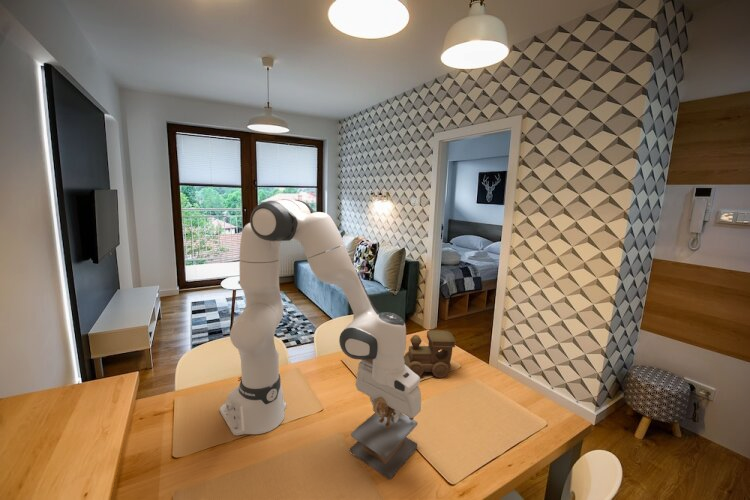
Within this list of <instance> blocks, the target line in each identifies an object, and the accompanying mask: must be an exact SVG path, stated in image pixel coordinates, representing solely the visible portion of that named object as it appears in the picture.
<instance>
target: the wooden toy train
mask: <svg viewBox="0 0 750 500" xmlns="http://www.w3.org/2000/svg"><path fill="white" fill-rule="evenodd" d="M426 338H427V340H428V345H421V344H422V341H423V340H422V338H421V337H420V335H417V334H414V335H412V337H411V338H410V343H411V345H409V346H408V351H407V352H406V353H404V360H405V365H406V366H407V367H408V368H409V369H411V370H412V371H413V372H414V373H415V374H417V375H418V376H419V377H421V376H422V375H423V374H424V372H431V373H432V375H433V376H434V377H435V378H439V379H441V378H444V377H446V376H447V375H448V373H449V372H451V366H452V365H451V360H452V355H453V348H456V339H455V336H453V334H452V332H451V331H449V330H437V329H436V330H435V329H433V330H431V329H429V330H426Z"/></svg>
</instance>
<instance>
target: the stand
mask: <svg viewBox="0 0 750 500" xmlns="http://www.w3.org/2000/svg"><path fill="white" fill-rule="evenodd" d="M380 419H381V417H379V416H378V415H376V414H375V412H374V413H372V414H371V415H370V416H369V417H368V418H367V419H366V420H365V421H363V422H362V423H361V424H360V425H359V426H358V427H356V428H355V429H354V430H353V431H351V432H350V437H351V438H353V439H354V440H355V441H356V442H355V443H354V444H353V445H351V447H349V453H350V452H351V453H352V454H351V453H350V454H351V455H353V454H354V455H355V456H356V458H357V459H359V460H360V461H361V462H363V463H364V464H366V465H367V466H369V467H370V468H371V469H374V470H375V471H376V472H377V473H379V474H380V475H382V476H383V477H385V478H386V479H387V480H390V481H391V480H392V478H393V477H394V476H395V475H396V474H397V473H398V471H399V470H400V469H401V468H402V467H403V465H404V464H405V463H406V462H407V461H408V459H409V458H410V457H411V456H412V455H413V454H414V452H415V451H416V450H417V449H418V443H417V442H415V441H414V440H413V439H410V438H409V437H408V435H410V433H411V432H412V431H413V430H414V429H415V428H416V427H418V421H416V420H414V419H413V420H410V419H409V417H408V416H406V415H404V414H401V416H399V419H398V421H397V422H396V423H394V422H393V421H391V419H390V427H389V428H387V427H386V426H385V425H386V423H387V418H386V417H384V421H383V423H380V422H379V420H380ZM354 455H353V456H354ZM355 456H354V457H355Z"/></svg>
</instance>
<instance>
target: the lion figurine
mask: <svg viewBox="0 0 750 500" xmlns="http://www.w3.org/2000/svg"><path fill="white" fill-rule="evenodd" d="M373 412H374V413H375V414H376V415H378V416H379V417H381V419H380V420H379V422H380V423H383V421H384V417H386V418H387V423H386V425H385V426H386V427H387V428H389V427H390V419H391V415H392V414H393V413H394V412H395V409H393V408H391V407H389V406H387V404H386V401H385V400H384V399H383V398H377V399H376V401H374V411H373ZM401 414H402V413H400V414H399V416H401ZM414 418H415V417H414ZM414 418H410V417H409V419H410V420H414Z"/></svg>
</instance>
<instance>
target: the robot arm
mask: <svg viewBox="0 0 750 500" xmlns="http://www.w3.org/2000/svg"><path fill="white" fill-rule="evenodd" d="M291 240H295V241H296V242H298V243H299V244H300V245H301V247H302V249H303V251H304V254H305V257H306V260H307V263H308V264H309V265H308V266H309V267H310V270H311V271H312V274H313V275H314V276H315V278H316V279H318V280H319V281H320V282H321V283H322V282H323V283H325V284H329V285H334V286H337V287H338V288H339V289H341V290H342V292H343V294H344V295H345V298H346V300H347V302H348V303H349V306H350V308H351V310H352V314H353V318H352V321H351V322H350V323H348V324H347V325H346V326H345V328H344V329H343V330H342V332H341V333H340V335H339V338H338V339H339V341H338V342H339V346H340V349H341V351H342V352H343V353H344V354H345V356H346V357H348V358H350V359H354V360H360V361H359V362H358V369H357V370H358V371H357V374H356V375H357V376H356V381H355V387H356V389H357V391H359V392H360V393H362V394H364V395H366V396H368V397H369V400H370V402H371V405H372V412H375V411H374V401H376V399H377V398H383V399H384V400H385V401H386V404H387V406H389V407H391V408H393V409H395V412H394V413H393V414H392V415H391V421H393V422H394V423H396V422H397V421H398V419H399V414H400V413H402V414H403V415H405V416H407V417H410V418H415V417H416V416H417V415H418V414H420V412H421V409H422V392H421V389H420V388H421V387H419V384H420V383H421V376H418V375H417V374H415V373H414V372H413V371H412V370H411V369H409V368H408V367H407V366H406V365H405V360H404V356H405V352H406V348H407V327H406V323H405V321H404V319H403V318H402V317H401V316H400V315H398V314H396V313H393V312H386V311H385V312H380V311H378V309H376V307H375V306H374V304H373V302H372V301H371V298H370V296H369V294H368V292H367V290H366V287H365V285H364V284H363V280H362V278H361V277H360V274H359V273H358V271H357V269H356V268H355V266H354V264H353V262H352V260H351V257H350V255H349V254H350V253H349V252H348V250H347V246H346V245H345V241H344V239H343V237H342V235H341V233H340V230H339V229H338V227H337V225H336V223H335V222H334V220H333V219H332V217H331V215H329V214H328V213H326V212H321V211H314V209H313V208H312V206H311V205H310V204H309V203H307V202H306V201H304V200H300V199H289V198H283V199H278V200H267V201H264V202H263V201H262V202H261V203H259V204H258V205H256V206H255V207H254V208H253V209H252V211H251V213H250V217H249V222H248V223H246V224H245V225H244V226H243V228H242V232H241V238H240V243H239V257H238V258H239V286H240V288H241V289H242V290H243V293H244V297H245V308H244V310H243V311H242V312H241V313H240V314H239V315H238V316H237V317H236V318H235V320H234V322H233V323H232V326H231V328H230V332H229V338H230V341H231V342H230V343H231V344H232V345H233V347H234V348H236V349H237V350H238V352H239V357H240V366H241V376H239V377H238V378H237V379H238V380H237V381H238V382H239V385H238V386H237V387H235V388H234V389H232V390H231V391H230V392H229V393H228V395H227V401H225V403H223V404H222V405H221V406H220V407H219V412H220V415H221V416H222V418H223V420H224V422H225V423H226V424H227V426H228V428H229V430H230V431H231V433H232V434H233V436H241V435H242V436H243V435H262V434H265V433H269V432H271V431H272V430H275V429H276V428H278V427H279V426H280V425H281V424H282V422H283V421H284V418H285V409H286V408H287V401H285V400H284V399H285V398H284V391H283V386H282V385H281V383H282V382H281V381H282V380H281V375H280V356H279V355H280V354H279V351H278V349H277V348H276V344H275V334H276V330H277V328H278V326H279V324H280V323H281V322H282V320H283V316H284V305H283V303H282V295H281V290H280V247H281V243H282V242H286V241H287V242H289V241H291ZM372 359H373V364H372V363H369V362H367V361H365V360H372ZM362 360H363V361H362Z"/></svg>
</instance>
